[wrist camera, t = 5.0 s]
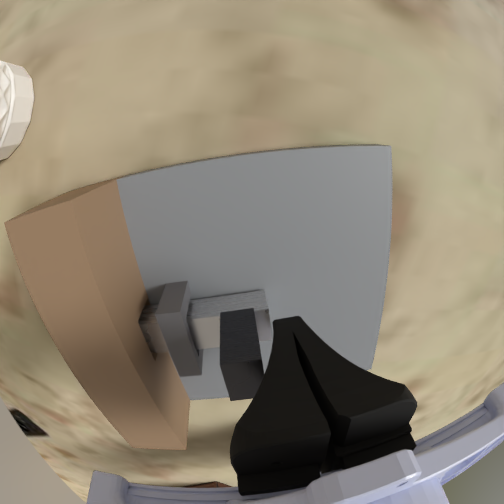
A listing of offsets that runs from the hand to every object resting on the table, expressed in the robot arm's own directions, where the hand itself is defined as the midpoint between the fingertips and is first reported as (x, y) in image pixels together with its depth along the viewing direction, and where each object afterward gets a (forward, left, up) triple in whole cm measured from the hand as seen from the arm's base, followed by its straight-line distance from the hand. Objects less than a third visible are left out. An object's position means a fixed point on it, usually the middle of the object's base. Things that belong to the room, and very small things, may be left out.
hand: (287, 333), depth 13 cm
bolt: (0, +6, -3) cm, 6 cm away
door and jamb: (0, +2, -4) cm, 5 cm away
